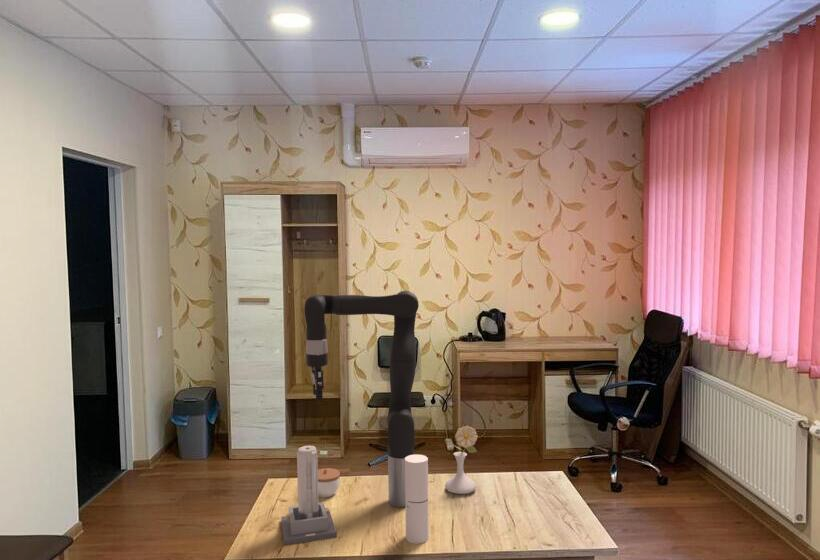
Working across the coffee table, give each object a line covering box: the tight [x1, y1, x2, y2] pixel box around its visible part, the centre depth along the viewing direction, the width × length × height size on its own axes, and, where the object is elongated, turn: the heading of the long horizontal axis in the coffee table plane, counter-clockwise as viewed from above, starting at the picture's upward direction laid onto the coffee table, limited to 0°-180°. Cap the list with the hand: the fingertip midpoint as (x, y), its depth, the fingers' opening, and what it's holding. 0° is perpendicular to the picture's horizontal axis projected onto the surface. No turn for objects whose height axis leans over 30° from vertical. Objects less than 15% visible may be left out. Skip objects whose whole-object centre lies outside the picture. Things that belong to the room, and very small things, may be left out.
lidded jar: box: [318, 467, 341, 499], centre depth 208 cm, size 11×11×9 cm
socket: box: [280, 502, 337, 546], centre depth 181 cm, size 16×16×6 cm
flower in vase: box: [444, 425, 479, 495], centre depth 209 cm, size 13×11×25 cm
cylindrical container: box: [404, 454, 430, 544], centre depth 174 cm, size 7×7×25 cm
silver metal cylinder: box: [296, 445, 319, 520], centre depth 181 cm, size 6×6×25 cm
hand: (317, 397), depth 199 cm, fingers open, 8 cm apart
